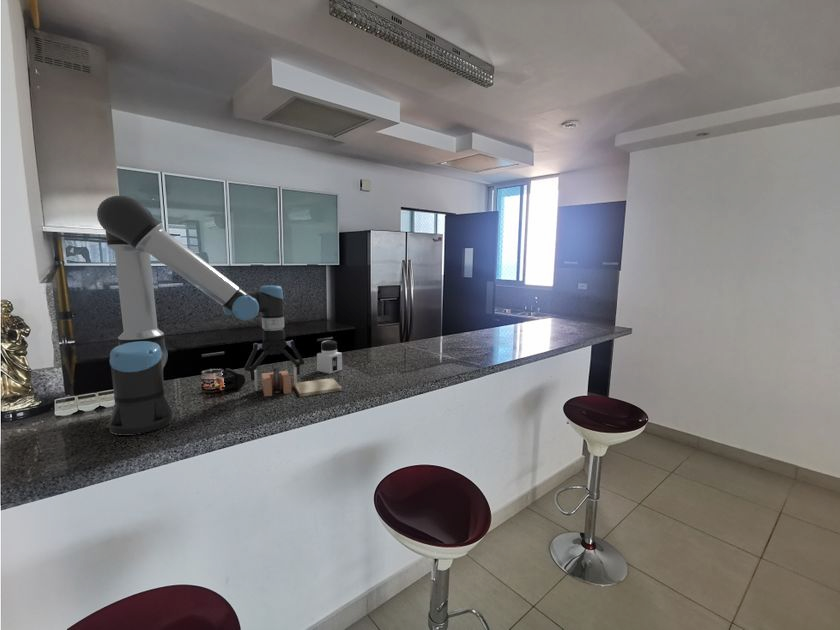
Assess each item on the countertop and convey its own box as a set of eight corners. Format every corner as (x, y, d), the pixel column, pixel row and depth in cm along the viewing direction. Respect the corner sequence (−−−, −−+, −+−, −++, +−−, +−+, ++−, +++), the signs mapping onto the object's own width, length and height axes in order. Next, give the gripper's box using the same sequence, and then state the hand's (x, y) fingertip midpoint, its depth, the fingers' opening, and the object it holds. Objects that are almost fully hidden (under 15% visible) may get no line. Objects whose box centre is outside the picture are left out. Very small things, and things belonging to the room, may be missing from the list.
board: (299, 396, 135) (299, 393, 135) (293, 386, 147) (293, 383, 146) (341, 390, 142) (341, 387, 142) (333, 380, 153) (333, 378, 153)
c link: (264, 396, 135) (263, 380, 134) (262, 389, 143) (261, 373, 142) (291, 392, 139) (290, 376, 138) (287, 385, 147) (287, 370, 146)
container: (342, 369, 169) (342, 340, 168) (329, 374, 163) (328, 343, 161) (330, 367, 173) (329, 338, 172) (316, 371, 167) (316, 341, 165)
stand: (273, 393, 138) (272, 369, 137) (272, 391, 140) (271, 367, 139) (281, 392, 139) (280, 368, 138) (280, 390, 142) (279, 366, 140)
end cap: (246, 389, 143) (245, 371, 142) (226, 394, 138) (225, 375, 137) (234, 383, 150) (233, 366, 149) (215, 388, 144) (214, 370, 144)
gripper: (235, 333, 130) (239, 394, 133) (311, 327, 141) (312, 384, 144) (234, 329, 136) (238, 387, 139) (307, 324, 147) (309, 378, 150)
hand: (276, 386), depth 141 cm, fingers open, 13 cm apart
